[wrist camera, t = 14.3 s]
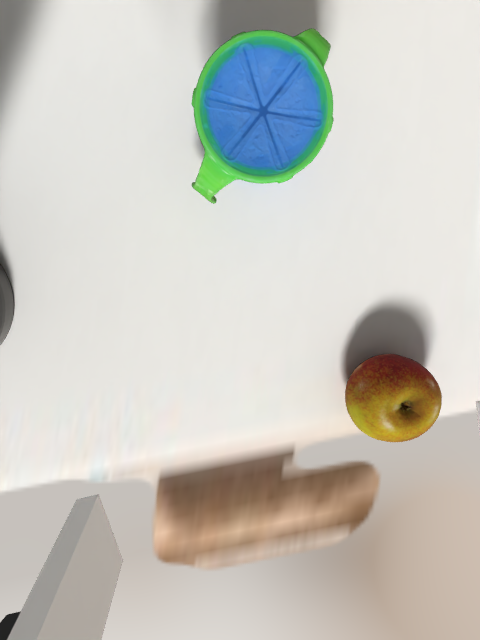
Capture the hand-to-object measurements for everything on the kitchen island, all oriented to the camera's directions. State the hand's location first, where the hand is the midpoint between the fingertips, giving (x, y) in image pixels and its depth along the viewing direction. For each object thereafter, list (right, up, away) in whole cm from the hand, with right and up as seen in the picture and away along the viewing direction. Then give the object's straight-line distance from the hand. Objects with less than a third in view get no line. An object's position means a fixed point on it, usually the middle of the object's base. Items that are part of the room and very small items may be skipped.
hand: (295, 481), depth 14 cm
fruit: (+14, -2, +34) cm, 37 cm away
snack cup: (-1, +24, +27) cm, 36 cm away
